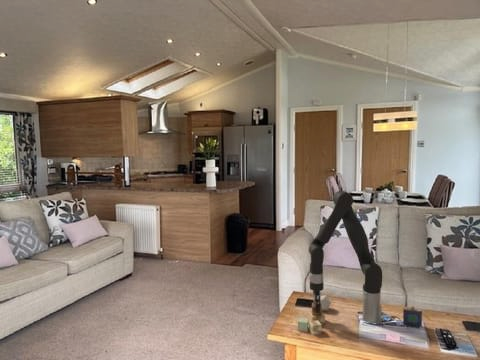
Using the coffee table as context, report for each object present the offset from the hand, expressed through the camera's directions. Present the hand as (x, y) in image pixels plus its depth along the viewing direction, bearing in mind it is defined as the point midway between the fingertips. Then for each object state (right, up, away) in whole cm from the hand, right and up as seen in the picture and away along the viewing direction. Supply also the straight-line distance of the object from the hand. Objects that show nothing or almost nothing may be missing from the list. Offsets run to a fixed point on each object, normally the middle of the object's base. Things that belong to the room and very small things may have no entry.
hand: (316, 308), depth 201 cm
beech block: (-3, -9, -10) cm, 14 cm away
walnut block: (0, -3, +1) cm, 3 cm away
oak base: (0, -8, +1) cm, 8 cm away
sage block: (-9, -9, -6) cm, 14 cm away
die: (+7, -6, +16) cm, 18 cm away
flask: (+50, -7, -6) cm, 51 cm away
